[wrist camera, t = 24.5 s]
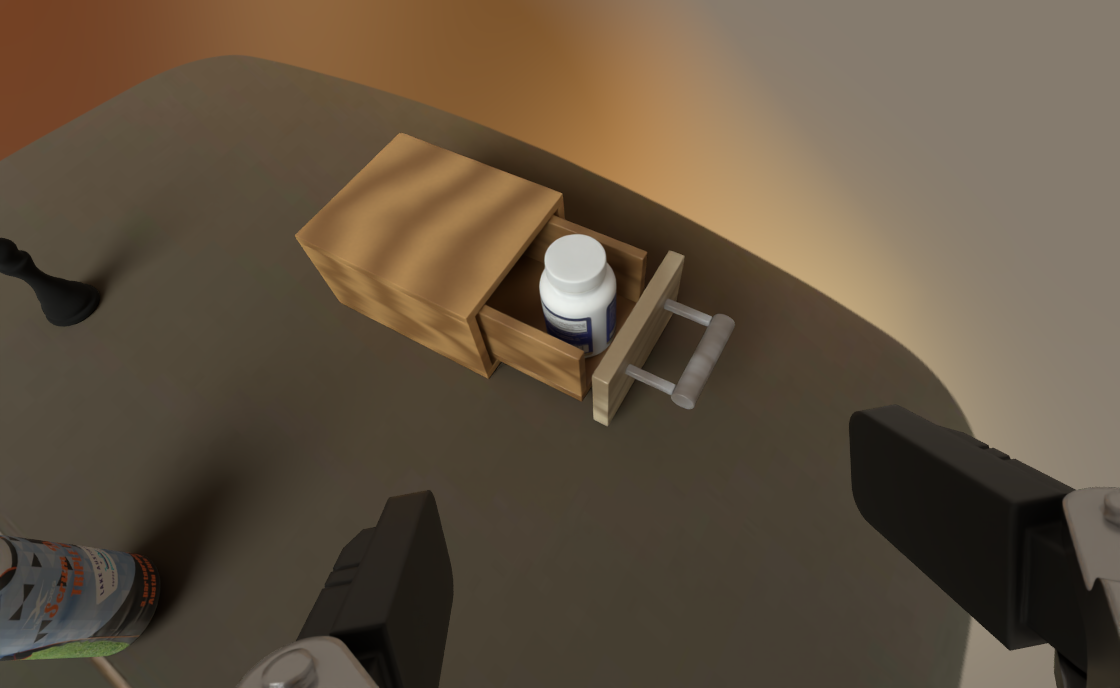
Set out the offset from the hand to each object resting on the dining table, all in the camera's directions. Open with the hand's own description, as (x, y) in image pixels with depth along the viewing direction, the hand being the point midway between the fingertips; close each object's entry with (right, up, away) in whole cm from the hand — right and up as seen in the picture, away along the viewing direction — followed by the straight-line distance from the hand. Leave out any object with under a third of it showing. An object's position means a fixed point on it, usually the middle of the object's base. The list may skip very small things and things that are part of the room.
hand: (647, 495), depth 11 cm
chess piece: (-45, +6, +41) cm, 61 cm away
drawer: (+1, +3, +34) cm, 34 cm away
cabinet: (-11, +8, +39) cm, 41 cm away
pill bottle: (0, +4, +34) cm, 34 cm away
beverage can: (-31, -15, +27) cm, 44 cm away
